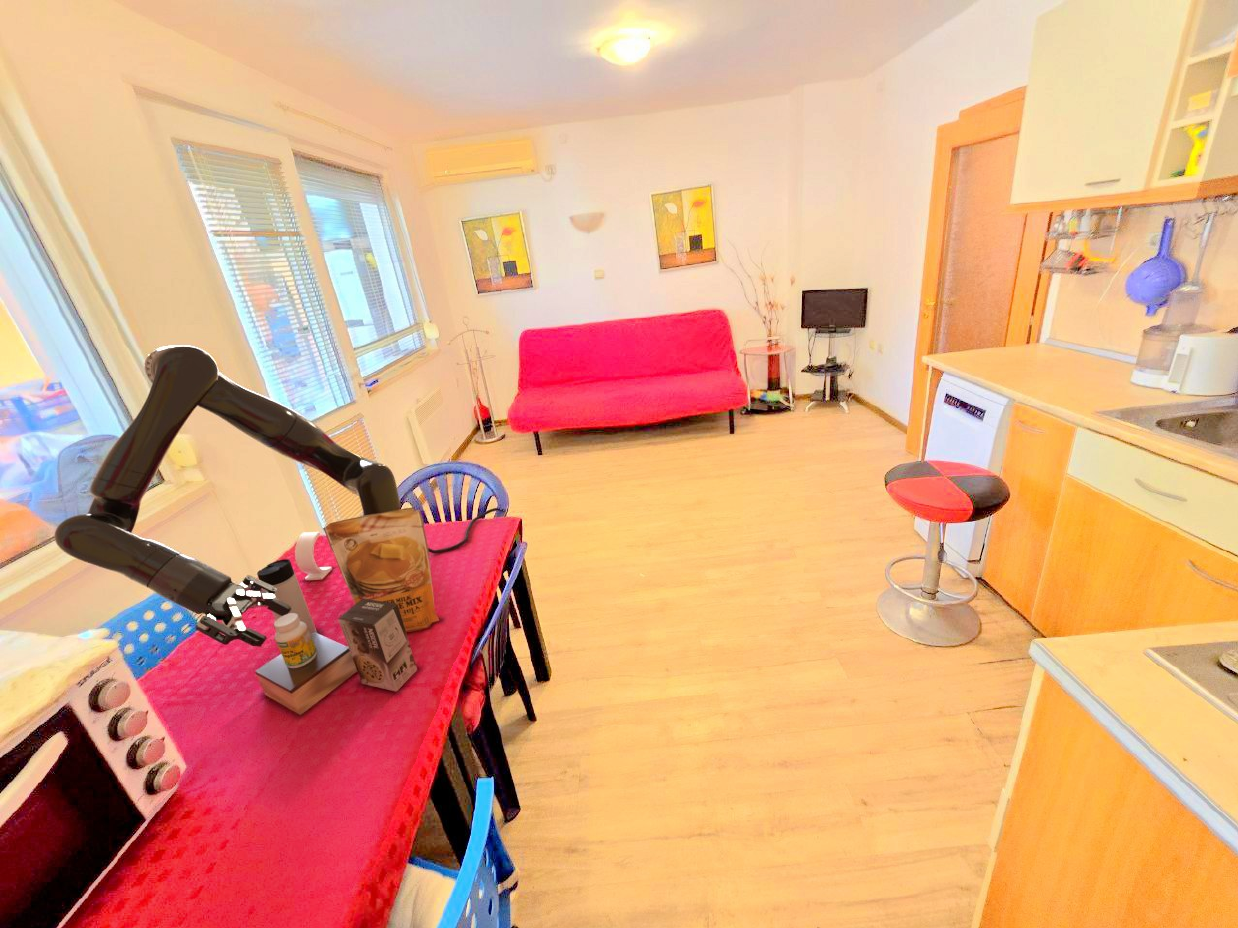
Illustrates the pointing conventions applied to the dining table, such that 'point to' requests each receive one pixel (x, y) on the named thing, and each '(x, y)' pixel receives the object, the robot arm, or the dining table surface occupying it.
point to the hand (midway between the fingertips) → (276, 626)
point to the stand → (307, 675)
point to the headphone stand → (309, 557)
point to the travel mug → (287, 590)
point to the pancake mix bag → (387, 562)
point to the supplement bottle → (294, 641)
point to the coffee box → (378, 643)
